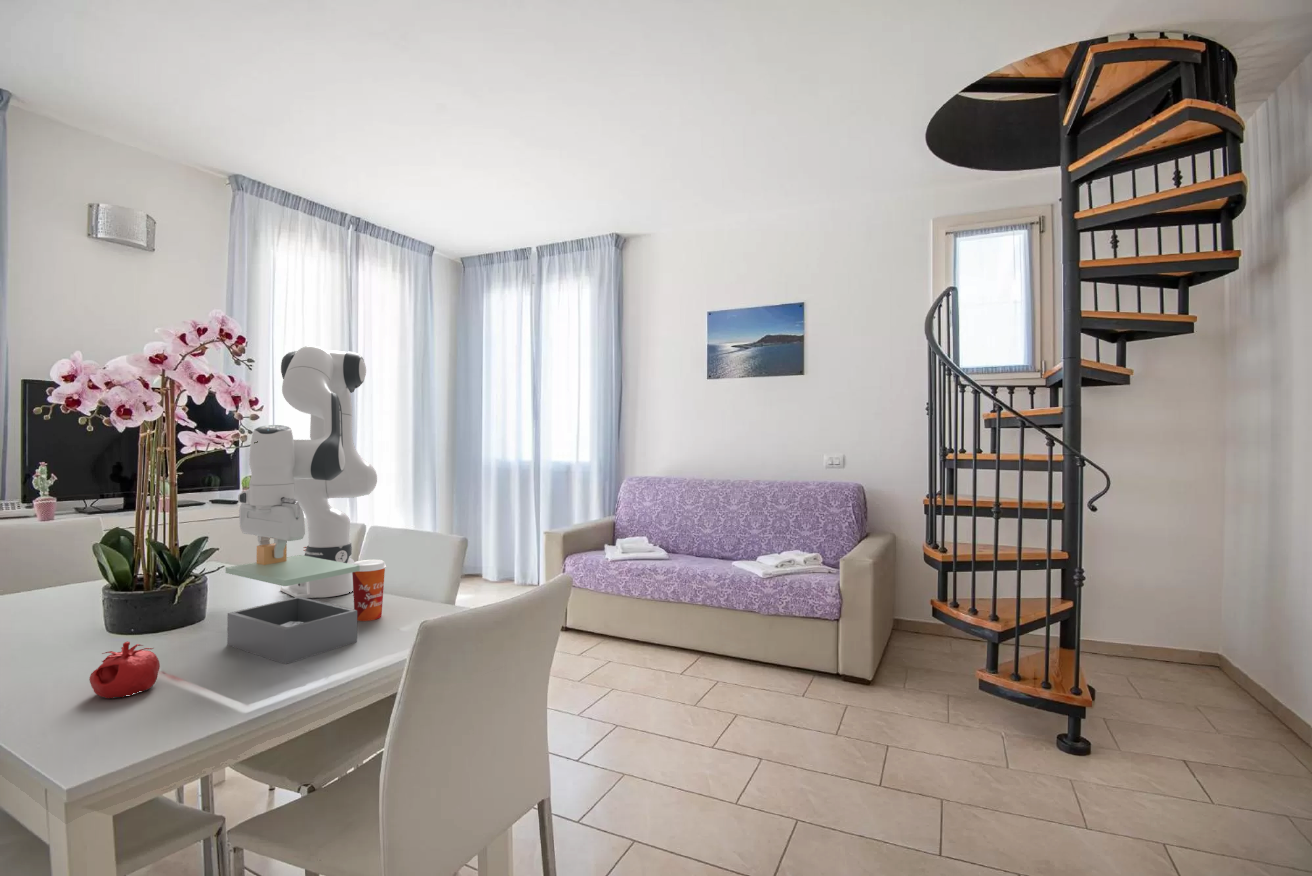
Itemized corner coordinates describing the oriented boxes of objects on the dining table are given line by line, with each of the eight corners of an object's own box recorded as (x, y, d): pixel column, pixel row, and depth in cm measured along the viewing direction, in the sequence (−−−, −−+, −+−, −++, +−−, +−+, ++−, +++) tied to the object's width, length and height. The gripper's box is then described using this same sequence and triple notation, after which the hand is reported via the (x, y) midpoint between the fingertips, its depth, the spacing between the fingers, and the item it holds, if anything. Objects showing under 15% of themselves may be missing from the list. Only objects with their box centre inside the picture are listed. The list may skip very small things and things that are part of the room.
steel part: (277, 639, 140) (277, 626, 140) (290, 634, 144) (290, 621, 144) (292, 640, 140) (292, 627, 140) (305, 635, 144) (305, 622, 144)
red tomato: (152, 676, 122) (152, 629, 122) (166, 690, 115) (166, 640, 115) (84, 692, 114) (84, 642, 114) (95, 708, 108) (95, 654, 108)
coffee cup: (360, 628, 152) (361, 567, 152) (344, 621, 157) (344, 562, 157) (392, 620, 159) (393, 561, 159) (376, 614, 164) (376, 557, 164)
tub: (227, 649, 137) (227, 613, 137) (299, 629, 151) (299, 596, 151) (285, 669, 126) (285, 629, 126) (357, 645, 140) (357, 610, 140)
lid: (225, 572, 137) (225, 549, 137) (300, 559, 151) (300, 538, 151) (284, 586, 125) (285, 560, 125) (359, 570, 140) (359, 547, 140)
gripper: (312, 497, 140) (312, 559, 140) (262, 492, 150) (261, 549, 150) (284, 500, 135) (284, 564, 135) (233, 494, 145) (233, 554, 145)
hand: (272, 556), depth 143 cm, fingers closed on lid, 3 cm apart
